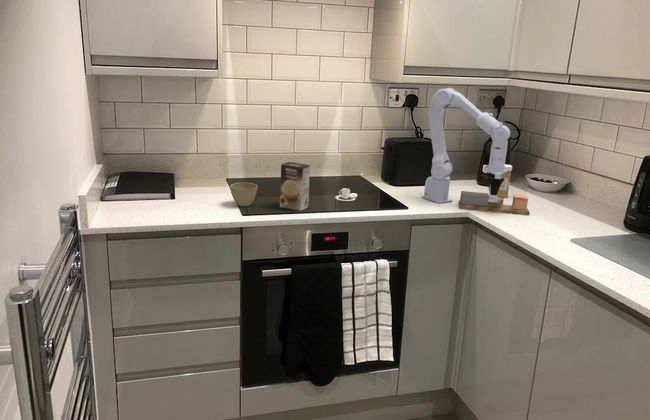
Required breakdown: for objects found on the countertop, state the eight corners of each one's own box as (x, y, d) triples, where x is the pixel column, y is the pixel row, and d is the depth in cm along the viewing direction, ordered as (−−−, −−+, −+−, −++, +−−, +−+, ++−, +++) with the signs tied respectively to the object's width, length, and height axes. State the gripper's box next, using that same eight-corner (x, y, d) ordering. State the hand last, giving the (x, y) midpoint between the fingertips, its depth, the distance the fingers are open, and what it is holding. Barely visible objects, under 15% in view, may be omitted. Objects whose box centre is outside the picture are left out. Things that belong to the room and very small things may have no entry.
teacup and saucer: (357, 197, 216) (357, 187, 215) (357, 202, 208) (358, 192, 207) (335, 195, 216) (335, 186, 215) (335, 201, 208) (335, 191, 207)
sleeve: (460, 204, 206) (461, 193, 205) (459, 201, 210) (461, 190, 209) (487, 207, 204) (488, 196, 203) (485, 204, 208) (487, 193, 207)
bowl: (235, 199, 202) (235, 181, 200) (261, 202, 201) (261, 183, 199) (225, 206, 193) (225, 187, 191) (252, 209, 191) (252, 190, 189)
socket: (513, 209, 202) (515, 197, 201) (511, 206, 207) (513, 194, 206) (526, 210, 202) (528, 198, 200) (523, 207, 207) (525, 195, 205)
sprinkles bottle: (510, 197, 225) (514, 165, 222) (503, 198, 223) (507, 166, 219) (501, 194, 229) (505, 163, 225) (494, 195, 227) (498, 164, 223)
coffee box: (278, 207, 196) (279, 164, 191) (287, 203, 201) (288, 161, 197) (301, 211, 192) (302, 167, 187) (309, 207, 198) (310, 164, 193)
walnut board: (459, 208, 205) (459, 205, 204) (458, 203, 212) (458, 200, 212) (529, 215, 201) (529, 212, 200) (525, 209, 208) (525, 206, 208)
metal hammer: (464, 202, 206) (466, 183, 204) (463, 200, 209) (465, 181, 207) (502, 205, 204) (505, 186, 202) (501, 204, 207) (504, 185, 204)
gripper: (511, 162, 193) (506, 199, 197) (505, 155, 207) (501, 189, 211) (491, 161, 194) (486, 197, 198) (487, 154, 208) (482, 188, 212)
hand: (492, 193), depth 205 cm, fingers open, 5 cm apart
